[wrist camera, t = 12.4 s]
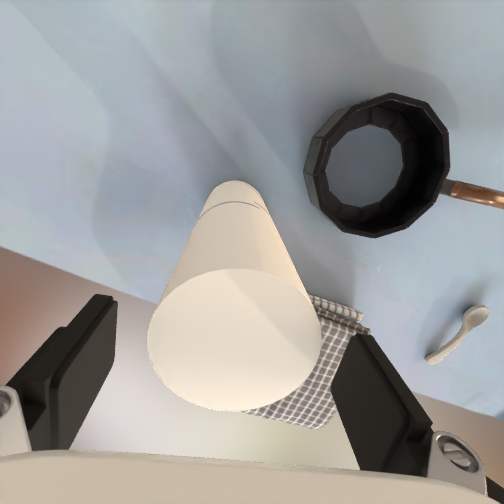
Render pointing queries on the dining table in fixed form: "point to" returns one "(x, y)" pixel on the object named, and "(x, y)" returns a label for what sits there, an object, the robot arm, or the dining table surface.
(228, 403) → the cylindrical container
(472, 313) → the spoon
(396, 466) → the robot arm
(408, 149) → the pan
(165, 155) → the dining table surface
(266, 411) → the towel
